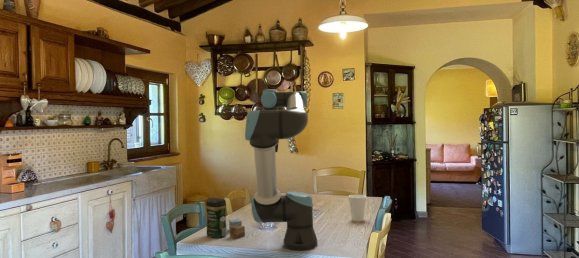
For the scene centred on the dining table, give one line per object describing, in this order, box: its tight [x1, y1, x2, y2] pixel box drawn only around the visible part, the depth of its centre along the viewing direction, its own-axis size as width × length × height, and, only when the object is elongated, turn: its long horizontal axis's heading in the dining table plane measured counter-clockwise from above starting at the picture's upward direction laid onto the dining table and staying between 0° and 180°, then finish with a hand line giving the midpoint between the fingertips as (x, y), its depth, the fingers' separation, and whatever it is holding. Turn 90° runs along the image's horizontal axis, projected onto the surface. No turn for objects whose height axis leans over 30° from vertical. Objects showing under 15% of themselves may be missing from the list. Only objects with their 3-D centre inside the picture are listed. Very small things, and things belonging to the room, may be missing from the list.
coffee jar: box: [205, 197, 228, 239], centre depth 194 cm, size 10×8×19 cm
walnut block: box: [229, 225, 246, 240], centre depth 192 cm, size 5×5×5 cm
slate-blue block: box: [228, 218, 243, 231], centre depth 204 cm, size 5×5×5 cm
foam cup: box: [348, 194, 367, 222], centre depth 218 cm, size 10×9×13 cm
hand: (271, 165), depth 204 cm, fingers closed
